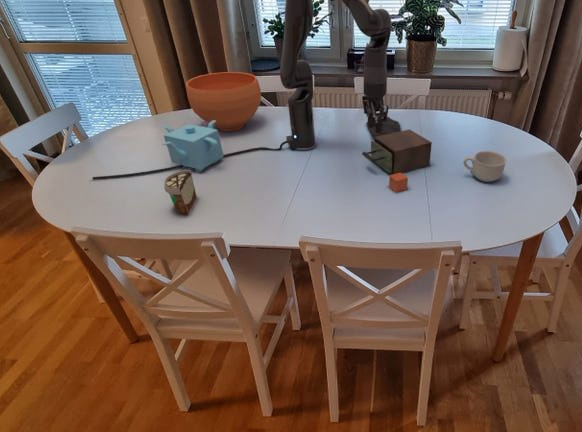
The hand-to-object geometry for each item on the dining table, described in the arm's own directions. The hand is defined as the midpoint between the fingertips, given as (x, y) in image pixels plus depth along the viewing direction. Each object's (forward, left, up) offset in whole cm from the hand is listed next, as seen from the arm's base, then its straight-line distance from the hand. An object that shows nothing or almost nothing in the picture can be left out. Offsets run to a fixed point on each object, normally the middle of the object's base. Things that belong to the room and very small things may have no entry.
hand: (374, 129), depth 135 cm
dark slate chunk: (+13, +34, -16) cm, 40 cm away
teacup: (+35, -15, -16) cm, 41 cm away
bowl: (-53, +57, -16) cm, 79 cm away
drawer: (+7, +2, -14) cm, 16 cm away
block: (+4, -15, -15) cm, 22 cm away
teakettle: (-64, +21, -16) cm, 69 cm away
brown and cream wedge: (-65, -10, -16) cm, 67 cm away
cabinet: (+11, +3, -15) cm, 19 cm away
